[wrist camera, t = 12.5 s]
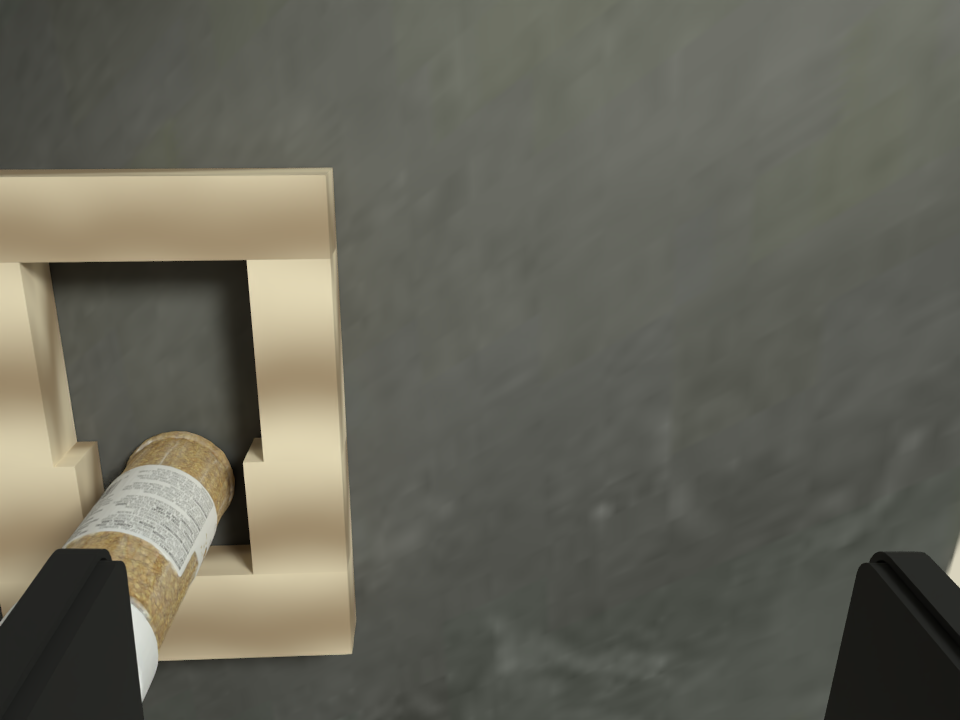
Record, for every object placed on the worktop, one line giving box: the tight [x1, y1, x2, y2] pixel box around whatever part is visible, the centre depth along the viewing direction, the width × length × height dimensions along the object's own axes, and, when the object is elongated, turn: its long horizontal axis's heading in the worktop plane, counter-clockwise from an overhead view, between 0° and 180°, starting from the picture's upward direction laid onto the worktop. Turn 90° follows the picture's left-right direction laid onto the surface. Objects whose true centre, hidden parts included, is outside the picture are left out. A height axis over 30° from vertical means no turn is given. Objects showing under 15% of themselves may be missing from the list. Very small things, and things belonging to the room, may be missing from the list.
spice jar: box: [0, 431, 235, 702], centre depth 31 cm, size 5×5×13 cm
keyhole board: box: [0, 168, 356, 661], centre depth 35 cm, size 20×14×2 cm
